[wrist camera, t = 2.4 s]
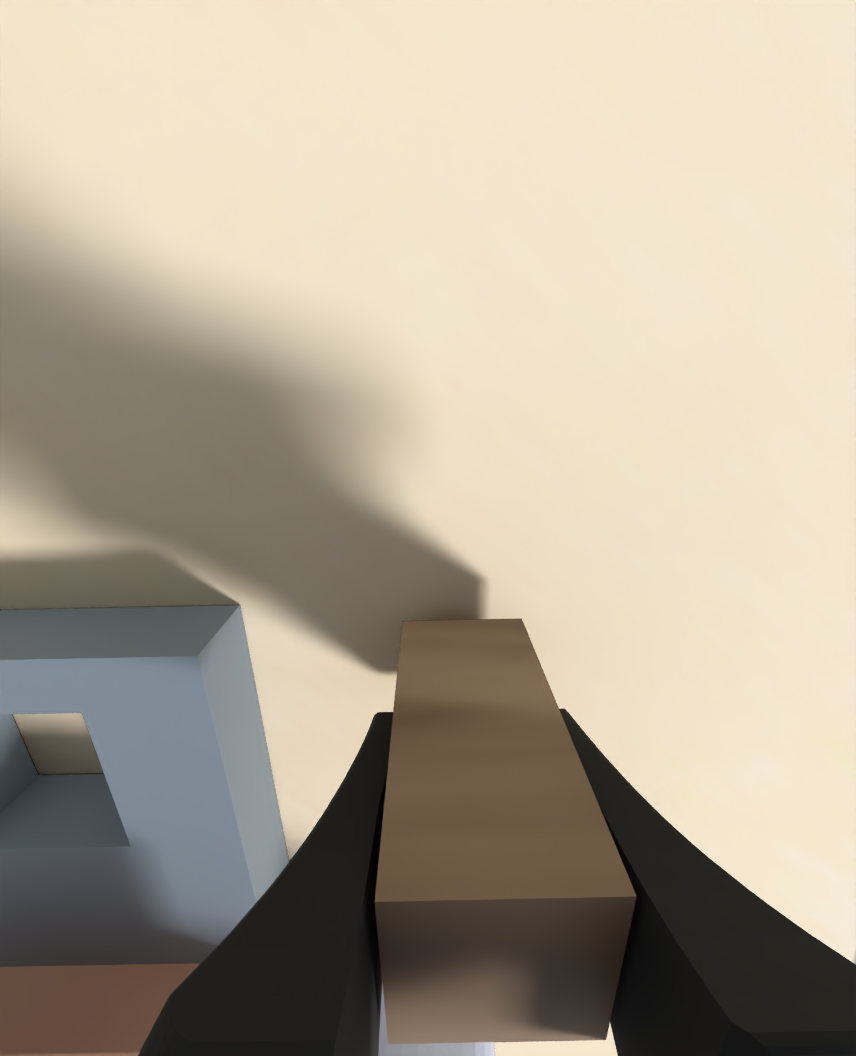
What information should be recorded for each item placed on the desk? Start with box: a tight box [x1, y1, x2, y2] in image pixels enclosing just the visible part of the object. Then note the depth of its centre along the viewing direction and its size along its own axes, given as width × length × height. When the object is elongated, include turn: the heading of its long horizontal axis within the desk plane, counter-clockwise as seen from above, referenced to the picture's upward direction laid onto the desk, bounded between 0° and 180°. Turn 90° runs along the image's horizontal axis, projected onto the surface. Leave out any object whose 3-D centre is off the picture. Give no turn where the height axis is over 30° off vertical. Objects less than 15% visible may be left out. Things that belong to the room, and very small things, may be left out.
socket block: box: [0, 605, 289, 967], centre depth 16 cm, size 16×14×3 cm
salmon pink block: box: [0, 963, 200, 1056], centre depth 14 cm, size 6×14×5 cm, turn 91°
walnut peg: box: [375, 619, 637, 1044], centre depth 11 cm, size 4×4×8 cm
